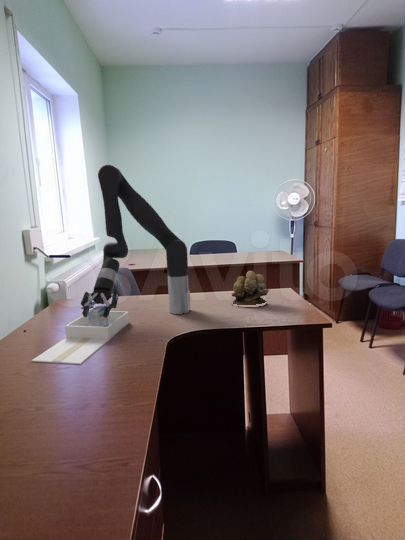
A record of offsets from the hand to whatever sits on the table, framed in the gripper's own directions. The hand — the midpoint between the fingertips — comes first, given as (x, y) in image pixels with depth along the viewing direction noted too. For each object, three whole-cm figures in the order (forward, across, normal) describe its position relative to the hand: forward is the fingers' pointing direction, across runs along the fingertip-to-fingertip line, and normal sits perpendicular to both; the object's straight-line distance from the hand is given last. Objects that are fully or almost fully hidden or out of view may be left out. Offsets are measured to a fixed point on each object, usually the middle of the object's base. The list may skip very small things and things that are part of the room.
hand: (94, 316), depth 129 cm
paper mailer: (+9, 0, 0) cm, 9 cm away
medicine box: (+3, 0, +6) cm, 7 cm away
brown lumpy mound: (-26, +58, +36) cm, 73 cm away
